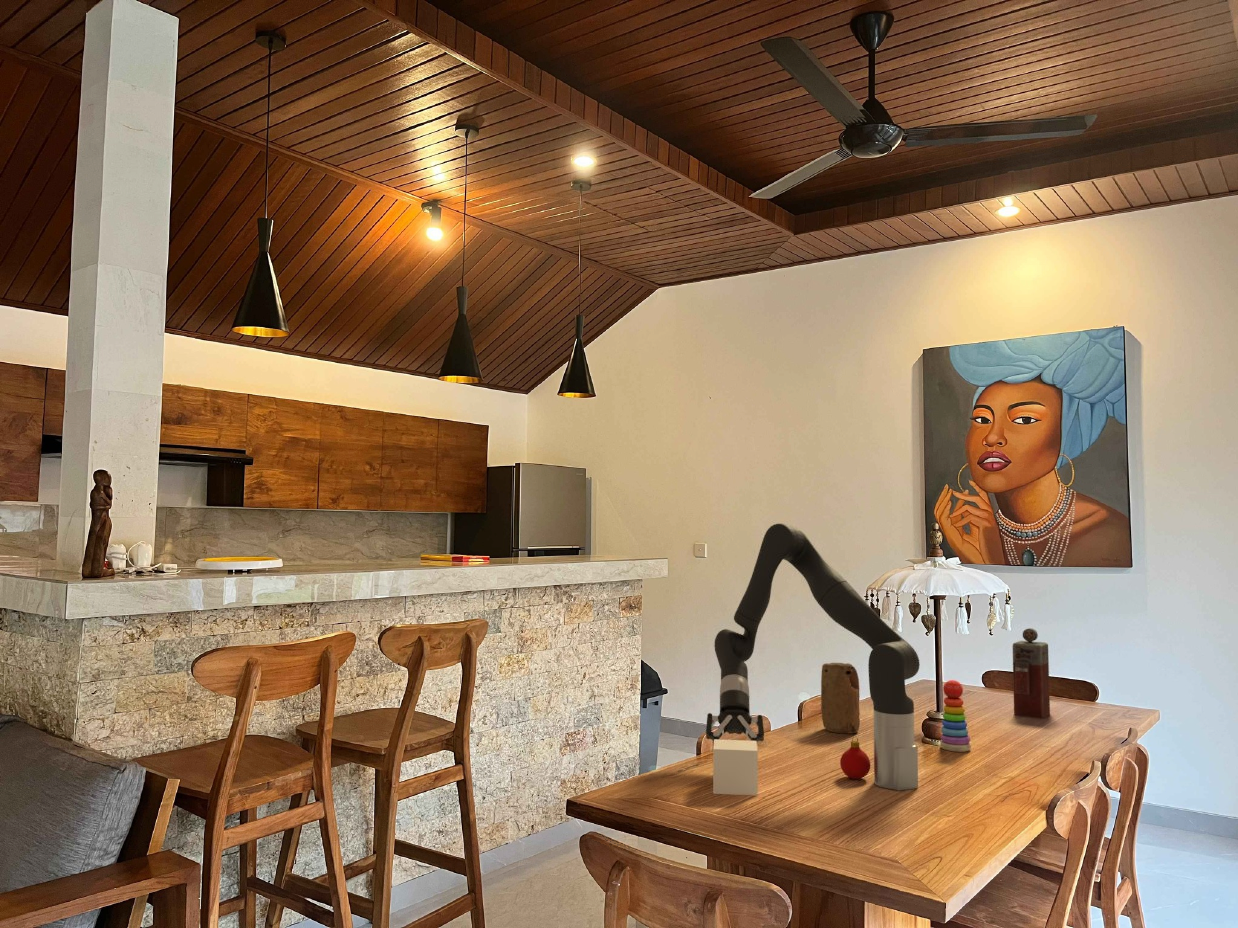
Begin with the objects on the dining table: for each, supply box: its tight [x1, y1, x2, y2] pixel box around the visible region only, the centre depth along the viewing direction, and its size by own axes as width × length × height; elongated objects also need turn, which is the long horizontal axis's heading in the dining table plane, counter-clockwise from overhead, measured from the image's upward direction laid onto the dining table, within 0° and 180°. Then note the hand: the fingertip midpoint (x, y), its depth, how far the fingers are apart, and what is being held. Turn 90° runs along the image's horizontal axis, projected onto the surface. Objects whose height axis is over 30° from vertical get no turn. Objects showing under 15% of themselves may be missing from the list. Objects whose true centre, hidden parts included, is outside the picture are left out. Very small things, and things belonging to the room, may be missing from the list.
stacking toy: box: [939, 679, 972, 753], centre depth 247 cm, size 8×8×19 cm
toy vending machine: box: [1012, 627, 1051, 719], centre depth 294 cm, size 9×11×28 cm
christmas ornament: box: [839, 736, 871, 780], centre depth 217 cm, size 7×7×10 cm
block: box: [820, 662, 861, 735], centre depth 268 cm, size 11×8×20 cm
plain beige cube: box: [712, 739, 759, 797], centre depth 208 cm, size 10×10×10 cm
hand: (735, 753), depth 217 cm, fingers open, 8 cm apart
